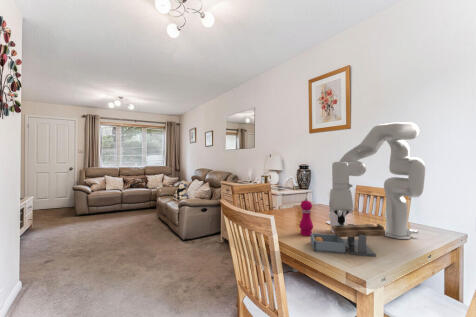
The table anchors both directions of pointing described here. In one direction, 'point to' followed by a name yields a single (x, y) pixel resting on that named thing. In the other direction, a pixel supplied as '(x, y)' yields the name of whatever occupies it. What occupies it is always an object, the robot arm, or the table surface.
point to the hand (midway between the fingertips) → (341, 224)
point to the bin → (328, 243)
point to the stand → (358, 245)
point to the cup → (334, 219)
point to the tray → (358, 230)
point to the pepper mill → (306, 218)
